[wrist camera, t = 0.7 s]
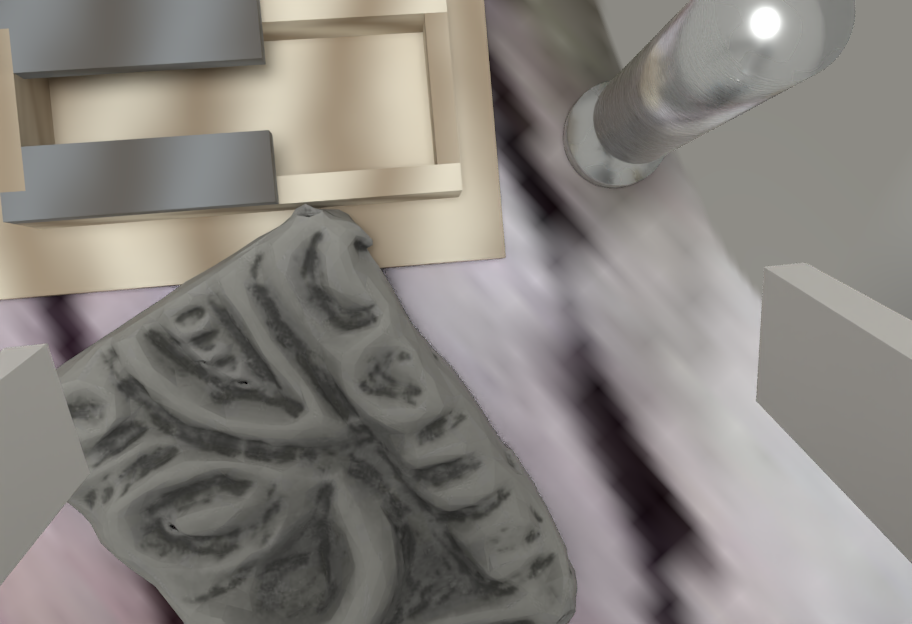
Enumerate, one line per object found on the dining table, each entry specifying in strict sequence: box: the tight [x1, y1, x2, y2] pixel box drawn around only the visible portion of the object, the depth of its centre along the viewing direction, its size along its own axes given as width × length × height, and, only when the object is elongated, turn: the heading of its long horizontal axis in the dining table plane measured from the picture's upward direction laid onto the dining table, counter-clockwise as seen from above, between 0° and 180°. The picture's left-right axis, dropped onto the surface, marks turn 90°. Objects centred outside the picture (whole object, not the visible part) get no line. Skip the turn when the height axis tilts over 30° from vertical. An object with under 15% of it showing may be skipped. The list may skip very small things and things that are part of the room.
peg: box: [563, 0, 855, 188], centre depth 27 cm, size 5×5×16 cm
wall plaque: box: [56, 204, 577, 624], centre depth 31 cm, size 23×19×4 cm
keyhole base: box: [0, 0, 506, 300], centre depth 31 cm, size 26×15×4 cm, turn 95°
